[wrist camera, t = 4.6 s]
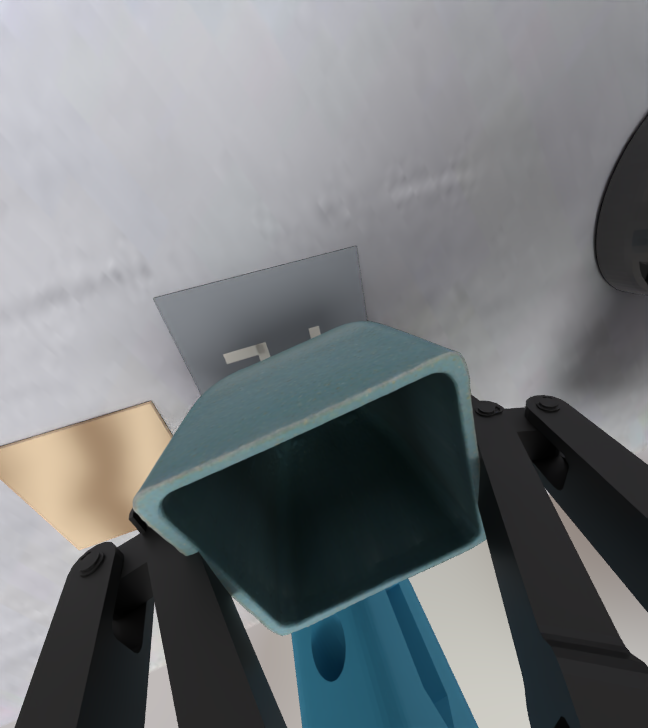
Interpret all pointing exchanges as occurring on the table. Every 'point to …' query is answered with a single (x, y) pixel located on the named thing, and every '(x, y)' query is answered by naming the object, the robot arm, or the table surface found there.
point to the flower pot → (323, 473)
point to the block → (377, 668)
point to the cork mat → (87, 472)
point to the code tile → (262, 313)
